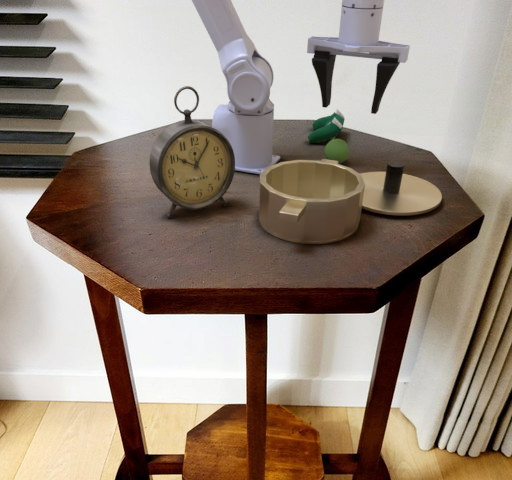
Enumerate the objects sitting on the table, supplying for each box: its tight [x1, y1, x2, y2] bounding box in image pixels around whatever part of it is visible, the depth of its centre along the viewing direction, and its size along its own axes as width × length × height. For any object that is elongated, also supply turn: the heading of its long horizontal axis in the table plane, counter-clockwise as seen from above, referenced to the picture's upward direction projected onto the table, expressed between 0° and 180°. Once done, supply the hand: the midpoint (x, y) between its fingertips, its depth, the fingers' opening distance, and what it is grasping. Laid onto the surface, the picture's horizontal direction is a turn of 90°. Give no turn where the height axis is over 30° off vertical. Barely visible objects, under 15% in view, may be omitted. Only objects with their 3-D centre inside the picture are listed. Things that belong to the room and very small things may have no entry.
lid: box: [359, 160, 443, 216], centre depth 79 cm, size 15×15×5 cm
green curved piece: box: [307, 108, 345, 144], centre depth 100 cm, size 9×4×6 cm
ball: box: [324, 138, 350, 165], centre depth 90 cm, size 4×4×4 cm
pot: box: [258, 158, 365, 245], centre depth 73 cm, size 14×19×6 cm
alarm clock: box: [149, 85, 236, 219], centre depth 72 cm, size 11×5×16 cm, turn 118°
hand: (350, 108), depth 84 cm, fingers open, 7 cm apart
